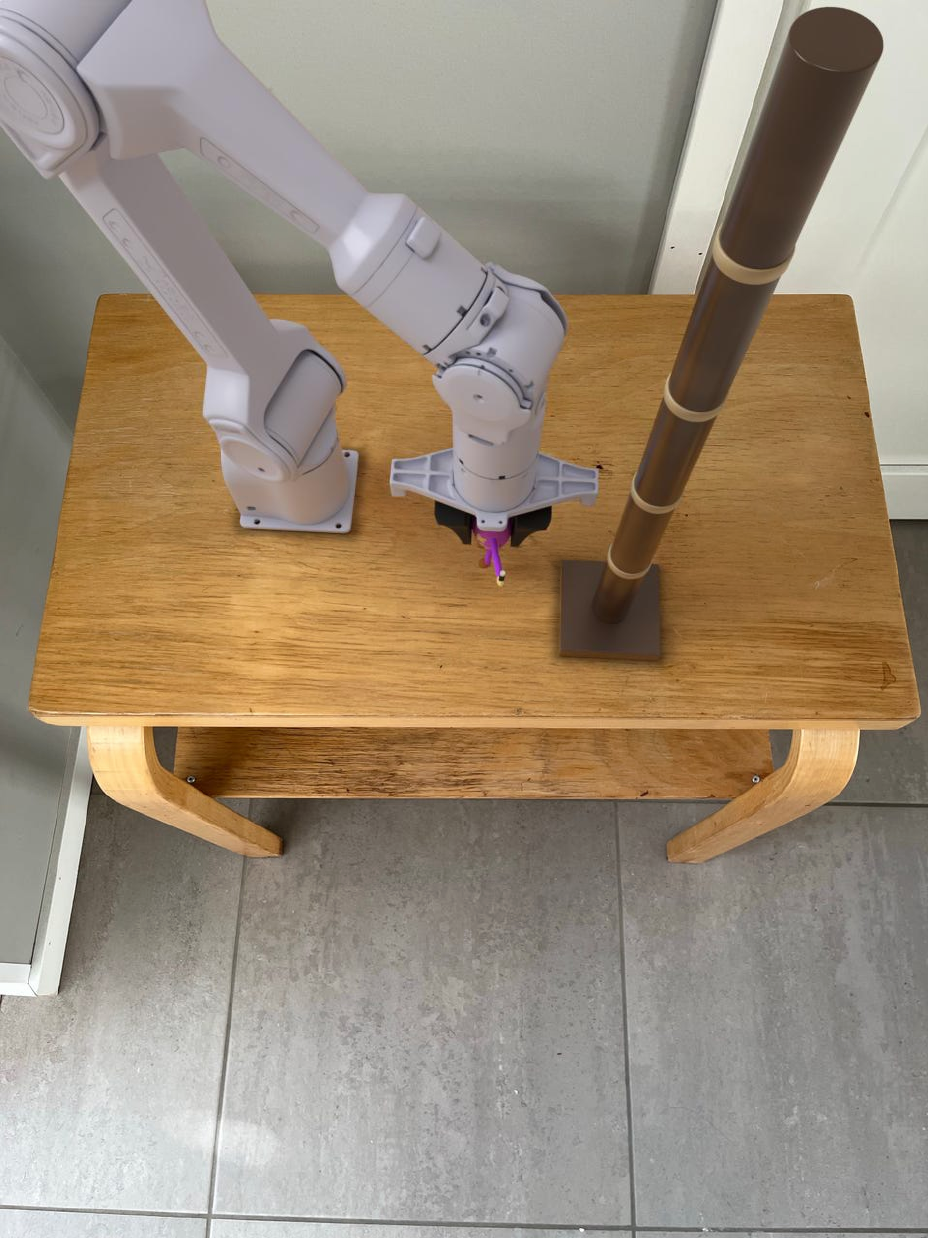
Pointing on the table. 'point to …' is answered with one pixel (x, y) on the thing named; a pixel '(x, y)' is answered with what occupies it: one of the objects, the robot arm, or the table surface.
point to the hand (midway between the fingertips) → (490, 534)
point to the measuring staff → (724, 321)
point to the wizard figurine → (492, 546)
